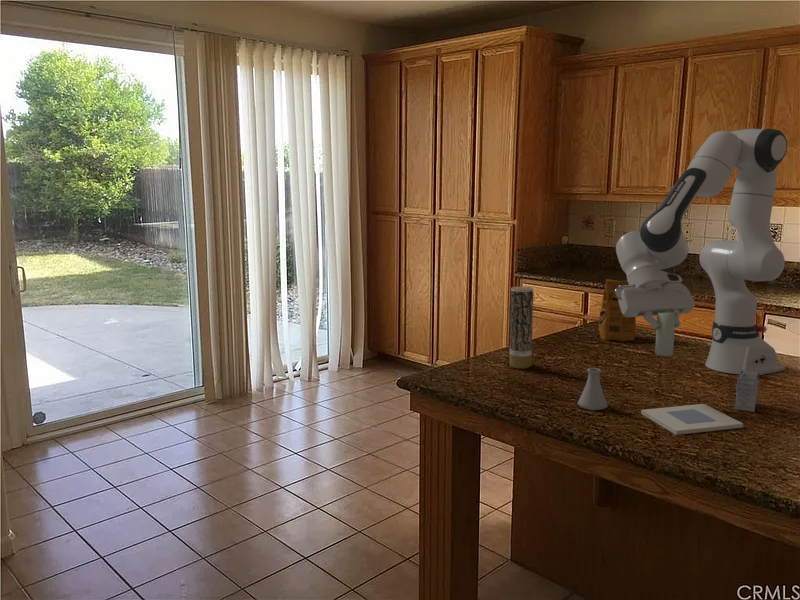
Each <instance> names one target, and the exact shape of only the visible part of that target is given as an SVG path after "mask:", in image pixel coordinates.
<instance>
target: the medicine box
mask: <svg viewBox="0 0 800 600" xmlns="http://www.w3.org/2000/svg"><path fill="white" fill-rule="evenodd" d="M759 379H760V375H759V372H754V371H746V370H741V372H740V374H738V377H737V381H736V394H735V395H736V396H735V404H734V405H735V407H734V408H735V410H738V411H743V412H750V413H755V411H756V407H757V404H758V403H757V402H758V392H759V391H758V390H759Z"/></svg>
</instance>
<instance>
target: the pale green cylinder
mask: <svg viewBox="0 0 800 600" xmlns="http://www.w3.org/2000/svg"><path fill="white" fill-rule="evenodd" d="M656 316H657V317H656V320H659V322H660V324H661V327H660V328H659V329H655V330H656V334H655V346H654V347H655V349H654V350H655V352H654V353H655V355H657V356H661V357H672V356H673V355H674V346H675V345H674V344H675V333H676V332H675V331H676V330H675V329H676V328H675V318H676V313H674V312H667V311H661V312H658V315H656Z"/></svg>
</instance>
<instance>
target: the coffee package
mask: <svg viewBox="0 0 800 600" xmlns="http://www.w3.org/2000/svg"><path fill="white" fill-rule="evenodd" d="M620 285H624V286H625V285H629V283H628V281H627V279H626V280H616V279H615V280H614V279H609V278H608V279H607V278H606V280H605V287H604V292H603V296H602V301H601V308H600V312H599V319H598V332H599V335H600V339H601V340H602V341H605V342H606V341H609V342H610V341H616V342H633V341H635V338H636V324H637V323H636V321H637V317H625V316H624V315H623V314H622V312H621V309H620V305H619V301H618V297H617V296H616V293H615V289H616V288H617V287H618V286H620Z"/></svg>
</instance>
